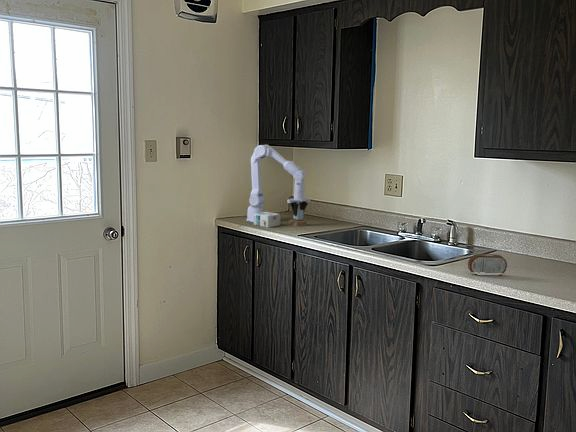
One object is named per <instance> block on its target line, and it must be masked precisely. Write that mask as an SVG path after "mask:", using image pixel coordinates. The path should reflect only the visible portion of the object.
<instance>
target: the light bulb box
mask: <svg viewBox="0 0 576 432" xmlns="http://www.w3.org/2000/svg"><path fill="white" fill-rule="evenodd" d="M253 225H254V226H259V227H264V228H267V229H268V228H273V227H279V226H281V213H278V212H277V213H276V212H270V211H263V212H262V213H254V222H253Z"/></svg>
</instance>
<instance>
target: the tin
mask: <svg viewBox="0 0 576 432" xmlns="http://www.w3.org/2000/svg"><path fill="white" fill-rule="evenodd" d="M467 267H468V270H469V271H470V273H472V272H478V273H480V272H485V273H503V274H504V273H505V272H506V271H507V267H508V263H507V261H506V259H505V258H504V257H503V256H502V255H500V254H494V253H492V254H489V253H476V254H474V255H472V256H471V257H470V258H469V260H468V262H467Z"/></svg>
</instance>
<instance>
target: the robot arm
mask: <svg viewBox="0 0 576 432" xmlns="http://www.w3.org/2000/svg"><path fill="white" fill-rule="evenodd" d="M266 157H269V158H273V159H274V160H275V161H277V162H278V163H279V164H280V165H282V166H283V170H284V171H286V172H288V173H289V174H290V175H291V176H293V179H294V188H293V198H289V199H287V204H289V205H290V207H291V210H292V212H293V214H294V216H297V209H301V210H304V211H303V215H305V214H304V213H305V210H306V209H307V207H308V203H310V202H311V198H308V197H307V198H305V190H306V189H305V186H306V185H305V184H306V183H305V180H306V179H305V178H306V177H307V173H306V171H305V170H304V169H303V168H301V167H300V166H298V165H296V163H295V162H294V160H292V161H291V160H287V159H286V158H285V157H283V156H282V155H281V154H280V153H279V152H278V151H276V150H275V149H274V148H273V147H271V146H270V145H269V144H260V145H257V146H256V147H255V148H254V149H253V153H252V155H251V157H250V172H251V173H250V174H251V175H250V176H251V191H250V196H249V200H248V201H249V202H248V203H249V206H248V208H247V212H246V213H247V215H246V216H247V218H246V221H247V222H251V223H254V213H262V212H264V203H265V202H266V201H265V200H266V198H265V196H264V191H263V189H262V177H261V176H262V175H261V161H262V160H264V159H265V158H266Z"/></svg>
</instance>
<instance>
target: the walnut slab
mask: <svg viewBox="0 0 576 432" xmlns="http://www.w3.org/2000/svg"><path fill="white" fill-rule="evenodd" d="M288 222H289V224H290V226H292V225H293V227H296V226H299V227H307V226H308V225H307V224H308V221H307V220H305V219H289V221H288Z"/></svg>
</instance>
